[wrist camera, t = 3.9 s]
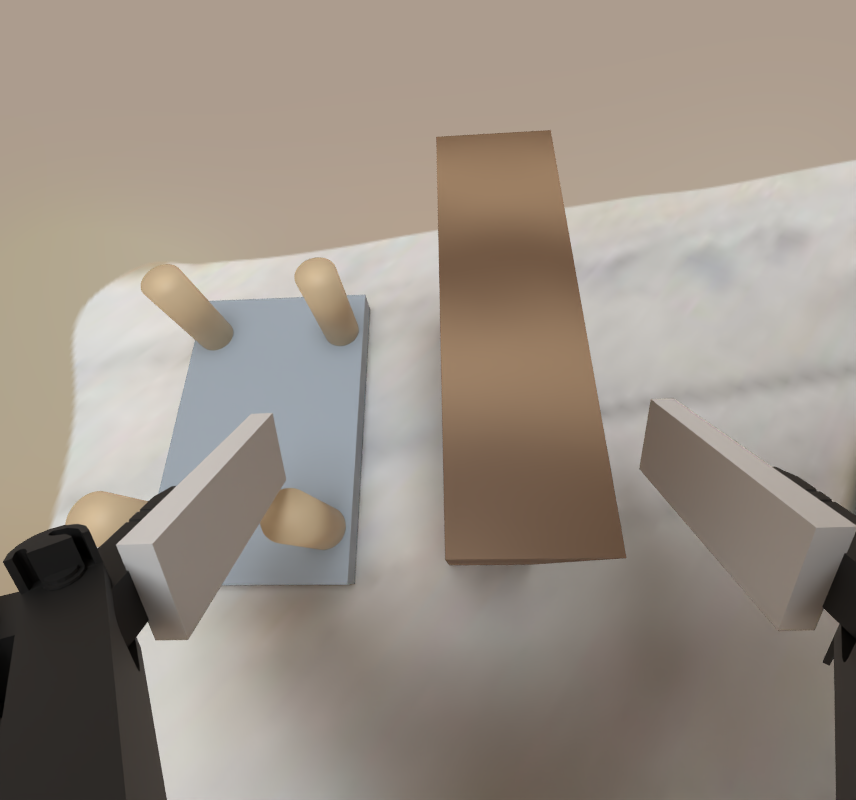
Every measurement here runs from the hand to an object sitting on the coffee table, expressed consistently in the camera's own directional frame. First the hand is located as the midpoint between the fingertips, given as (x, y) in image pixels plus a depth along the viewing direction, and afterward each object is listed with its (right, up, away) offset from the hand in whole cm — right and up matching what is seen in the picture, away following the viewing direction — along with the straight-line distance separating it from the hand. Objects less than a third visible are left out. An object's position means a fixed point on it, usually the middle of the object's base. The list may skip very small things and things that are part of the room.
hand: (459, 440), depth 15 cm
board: (+2, 0, +8) cm, 9 cm away
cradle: (-10, 0, +9) cm, 13 cm away
